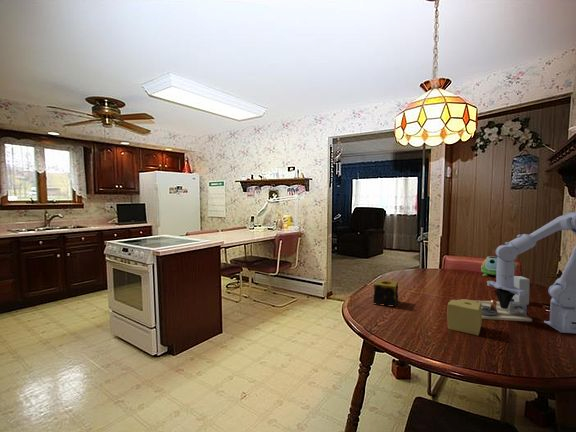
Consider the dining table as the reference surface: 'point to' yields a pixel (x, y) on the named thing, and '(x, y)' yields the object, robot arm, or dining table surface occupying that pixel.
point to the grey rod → (517, 307)
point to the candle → (385, 292)
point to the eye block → (512, 311)
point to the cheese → (464, 316)
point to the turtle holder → (490, 266)
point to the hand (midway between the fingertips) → (504, 307)
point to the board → (503, 313)
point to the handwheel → (490, 309)
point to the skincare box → (523, 285)
